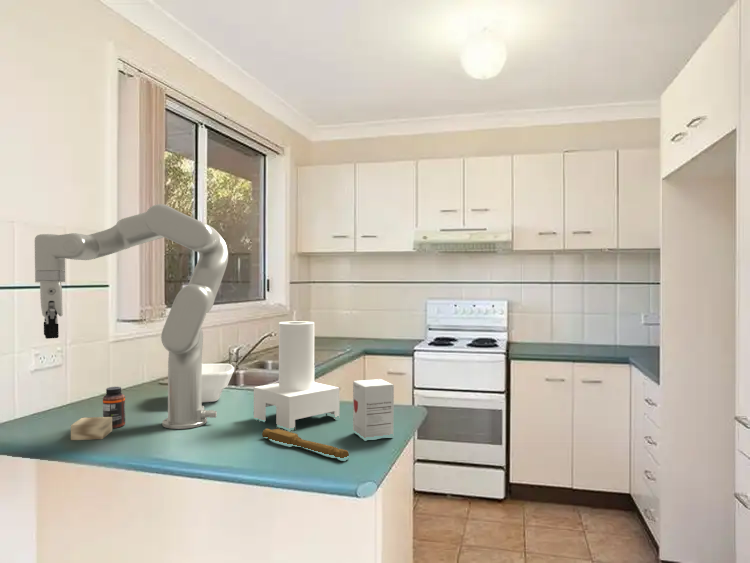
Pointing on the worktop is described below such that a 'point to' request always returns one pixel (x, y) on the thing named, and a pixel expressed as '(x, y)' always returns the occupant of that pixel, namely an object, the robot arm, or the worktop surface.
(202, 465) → the worktop surface
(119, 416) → the supplement bottle
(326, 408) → the paper towel holder
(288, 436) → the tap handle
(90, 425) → the maple block
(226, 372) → the bowl
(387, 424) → the supplement box
